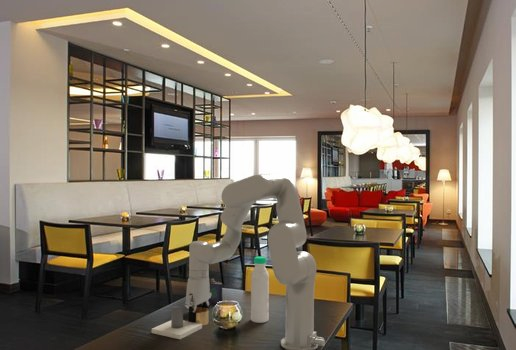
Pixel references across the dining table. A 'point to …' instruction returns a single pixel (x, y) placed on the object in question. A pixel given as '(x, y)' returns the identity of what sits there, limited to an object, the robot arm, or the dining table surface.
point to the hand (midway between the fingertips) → (198, 318)
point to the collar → (202, 315)
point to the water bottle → (259, 291)
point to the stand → (177, 325)
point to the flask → (216, 292)
